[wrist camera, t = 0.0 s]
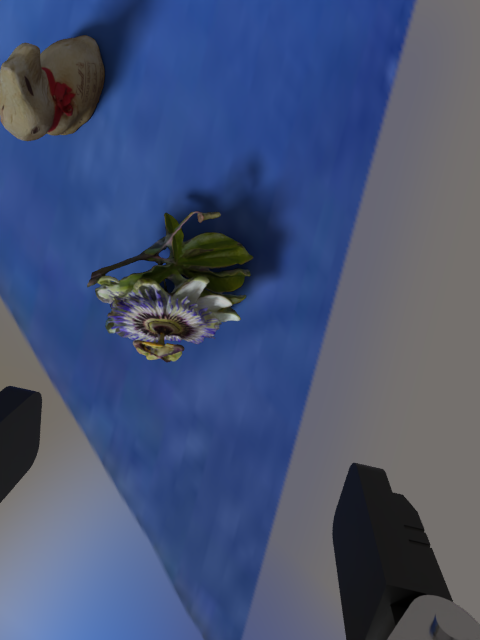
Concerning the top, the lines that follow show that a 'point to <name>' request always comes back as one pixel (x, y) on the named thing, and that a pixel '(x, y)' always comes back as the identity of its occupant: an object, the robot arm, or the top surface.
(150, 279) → the passion flower
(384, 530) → the robot arm
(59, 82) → the chocolate bunny
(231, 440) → the top surface
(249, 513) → the top surface
